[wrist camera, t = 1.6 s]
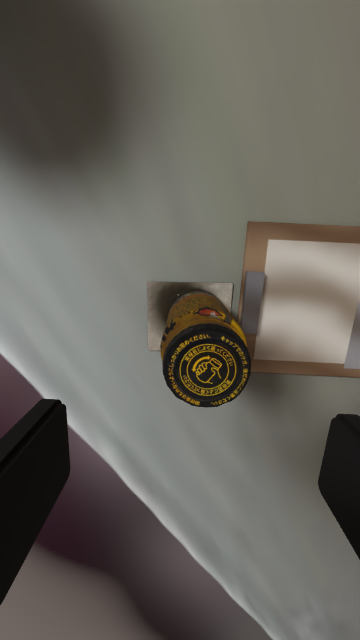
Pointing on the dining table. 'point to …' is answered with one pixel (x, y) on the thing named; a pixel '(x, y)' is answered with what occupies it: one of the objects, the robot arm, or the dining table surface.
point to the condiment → (198, 341)
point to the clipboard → (301, 298)
